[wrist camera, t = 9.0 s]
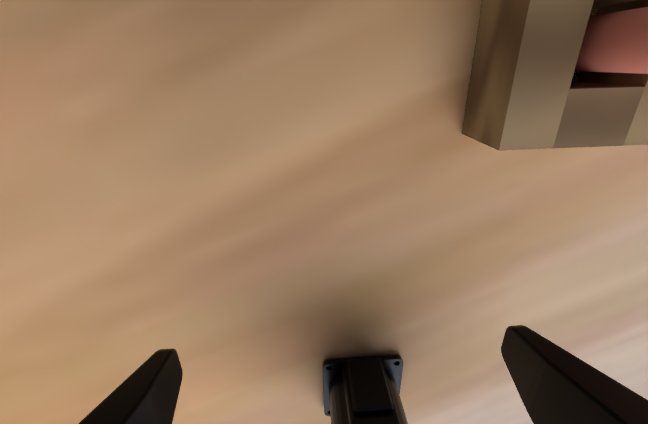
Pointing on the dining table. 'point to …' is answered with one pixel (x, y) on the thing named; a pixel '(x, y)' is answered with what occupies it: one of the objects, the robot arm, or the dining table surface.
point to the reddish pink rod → (615, 43)
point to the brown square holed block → (549, 80)
